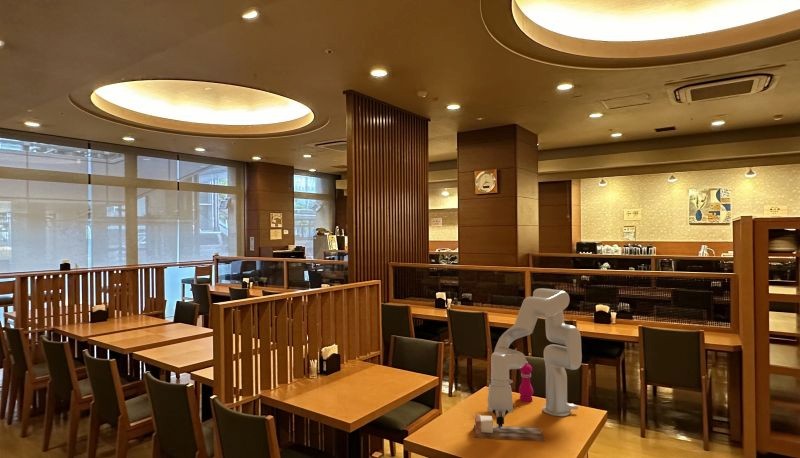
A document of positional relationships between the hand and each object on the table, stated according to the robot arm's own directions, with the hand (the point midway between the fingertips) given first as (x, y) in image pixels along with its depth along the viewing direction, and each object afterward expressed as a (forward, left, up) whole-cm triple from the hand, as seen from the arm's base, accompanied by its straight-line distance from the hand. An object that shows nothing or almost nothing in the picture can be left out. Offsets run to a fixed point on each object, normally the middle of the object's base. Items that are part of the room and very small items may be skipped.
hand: (500, 425), depth 192 cm
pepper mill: (-17, -42, -4) cm, 45 cm away
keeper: (+6, 0, -2) cm, 6 cm away
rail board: (-3, 0, -3) cm, 5 cm away
